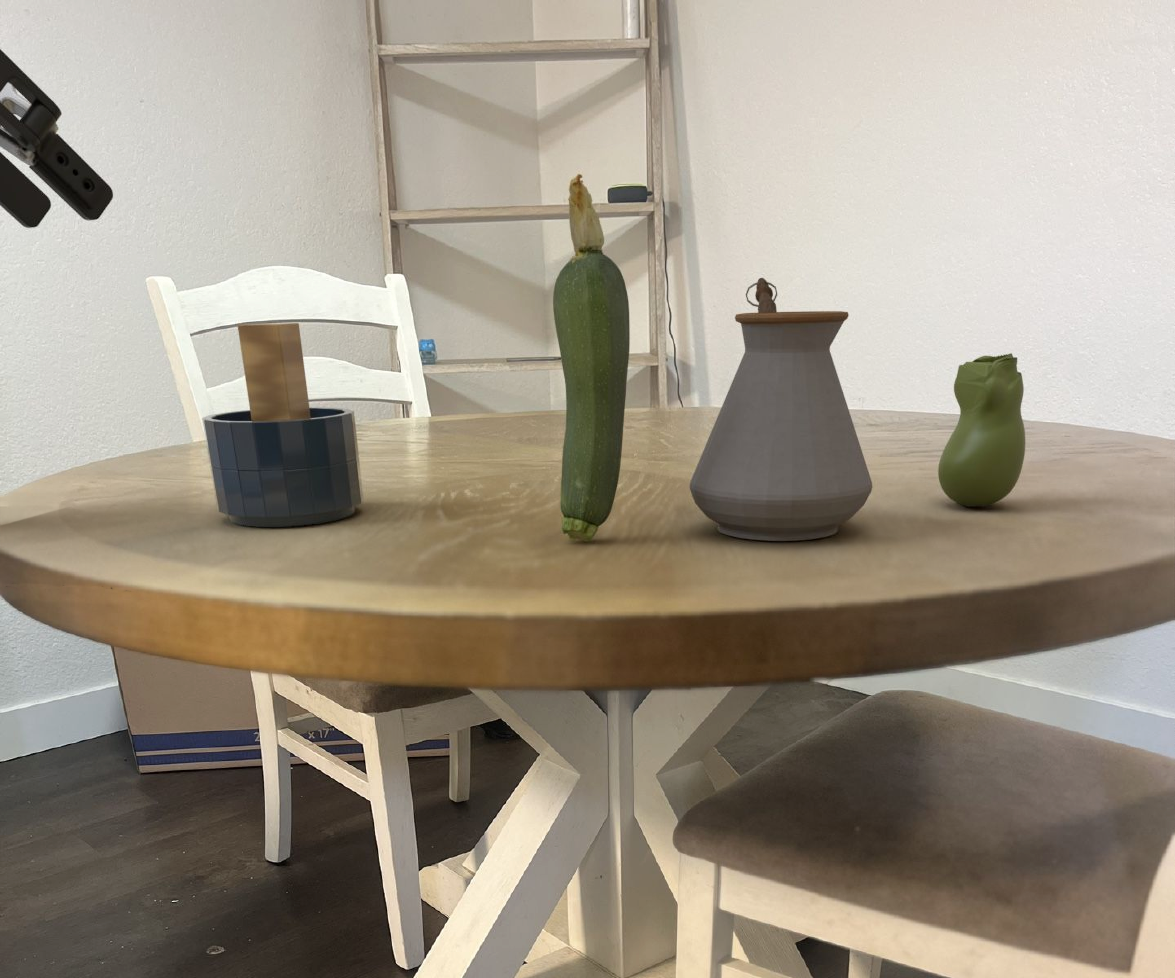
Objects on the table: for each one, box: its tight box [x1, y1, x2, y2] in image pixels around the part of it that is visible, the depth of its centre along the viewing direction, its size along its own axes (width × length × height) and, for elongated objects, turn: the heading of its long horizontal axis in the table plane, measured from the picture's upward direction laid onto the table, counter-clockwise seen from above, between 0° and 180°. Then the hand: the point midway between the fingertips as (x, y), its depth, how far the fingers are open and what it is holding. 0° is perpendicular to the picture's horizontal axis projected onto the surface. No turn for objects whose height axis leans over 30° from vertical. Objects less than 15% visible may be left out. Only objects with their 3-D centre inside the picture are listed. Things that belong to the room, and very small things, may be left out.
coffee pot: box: [689, 277, 873, 542], centre depth 69 cm, size 21×12×15 cm, turn 178°
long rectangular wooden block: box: [237, 322, 311, 421], centre depth 73 cm, size 3×3×12 cm
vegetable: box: [552, 173, 631, 543], centre depth 61 cm, size 4×4×20 cm
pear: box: [937, 352, 1026, 508], centre depth 71 cm, size 6×5×10 cm
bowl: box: [201, 406, 364, 528], centre depth 74 cm, size 10×10×7 cm
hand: (70, 213), depth 60 cm, fingers open, 8 cm apart
